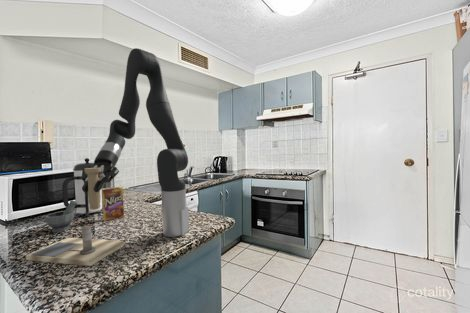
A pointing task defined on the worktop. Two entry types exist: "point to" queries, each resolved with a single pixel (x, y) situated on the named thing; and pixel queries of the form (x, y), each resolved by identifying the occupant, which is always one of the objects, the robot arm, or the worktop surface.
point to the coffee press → (80, 190)
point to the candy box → (113, 203)
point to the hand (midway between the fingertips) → (90, 191)
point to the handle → (92, 180)
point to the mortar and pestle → (61, 218)
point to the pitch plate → (76, 250)
